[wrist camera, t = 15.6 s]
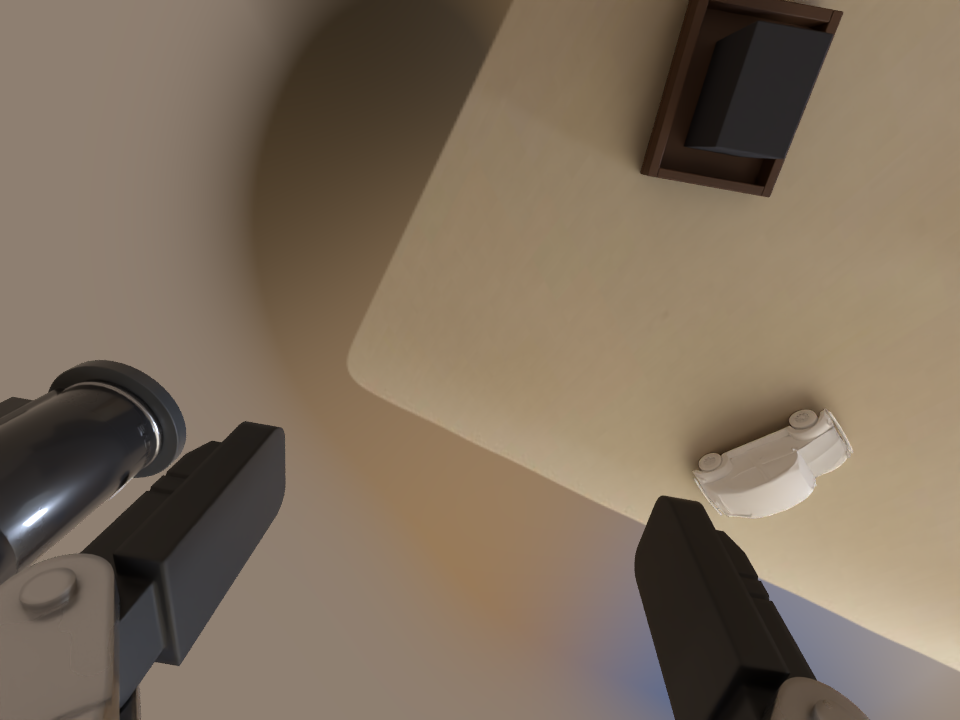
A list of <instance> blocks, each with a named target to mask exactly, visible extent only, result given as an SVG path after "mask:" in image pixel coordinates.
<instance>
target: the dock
mask: <svg viewBox="0 0 960 720" xmlns="http://www.w3.org/2000/svg"><path fill="white" fill-rule="evenodd" d="M842 15H843V12H842V11H837V10H832V9H826V8H821V7H815V6H810V5H804V4H799V3H793V2H788V1H782V0H689V4H688V7H687V11H686V14H685V18H684V21H683V25H682V28H681V32H680V35H679V39H678V42H677V46H676V49H675V53H674V56H673V60H672V63H671V67H670V70H669V74H668V78H667V81H666V85H665V88H664V92H663V95H662V99H661V102H660V106H659V109H658V113H657V116H656V120H655V123H654V127H653V130H652V134H651V137H650V141H649V144H648V148H647V151H646V155H645V158H644V162H643V165H642V169H641V172H640V174H643V175H647V176H653V177H658V178H664V179H669V180H675V181H681V182H686V183H692V184H697V185H703V186H708V187H714V188H719V189H725V190H731V191H736V192H742V193H747V194H753V195H758V196H764V197H770V195H771V193H772V190H773V188H774V185H775V183H776V180H777V178H778V175H779V173H780V170H781V168H782V165H783V163H784V160H785V158H786V156H785V158H784V159H769V158H749V157H738V156H732V155H727V154H721V153H716V152H710V151H705V150H699V149H694V148H688V147H684V144H685V141H686V138H687V134H688V131H689V128H690V125H691V122H692V119H693V115H694V112H695V109H696V106H697V103H698V99H699V96H700V93H701V90H702V87H703V83H704V80H705V77H706V74H707V71H708V67H709V64H710V61H711V58H712V55H713V51H714V48H715V45H716V42H717V41H719V40H721V39H723V38H725V37H727V36H729V35H730V34H732V33H734V32H736V31H738V30H740V29H742V28H744V27H746V26H748V25H750V24H752V23H754V22H756V21H758V20H761V21H766V22H772V23H777V24H783V25H788V26H794V27H799V28H805V29H810V30H816V31H821V32H826V33H832V34H833V37H834V35H835V32H836V30H837V27H838V25H839V22H840V20H841V17H842ZM832 40H833V38H832ZM832 40H831V42H832ZM830 45H831V43H830ZM830 45H829V47H830ZM828 50H829V48H828ZM828 50H827V52H828ZM826 55H827V53H826ZM826 55H825V58H826ZM825 58H824V60H825ZM824 60H823V63H824ZM823 63H822V65H823ZM822 65H821V68H822ZM821 68H820V70H821ZM820 70H819V73H820ZM819 73H818V75H819ZM818 75H817V78H818ZM817 78H816V80H817ZM816 80H815V83H816ZM815 83H814V85H815ZM814 85H813V88H814ZM813 88H812V90H813ZM812 90H811V93H812ZM811 93H810V95H811ZM810 95H809V98H810ZM809 98H808V100H809ZM808 100H807V103H808ZM807 103H806V105H807ZM806 105H805V108H806ZM805 108H804V110H805ZM803 113H804V111H803ZM803 113H802V115H803ZM801 118H802V116H801ZM801 118H800V120H801ZM799 123H800V121H799ZM799 123H798V125H799ZM797 128H798V126H797ZM797 128H796V130H797ZM795 133H796V131H795ZM795 133H794V135H795ZM793 138H794V136H793ZM793 138H792V140H793ZM791 143H792V141H791ZM791 143H790V145H791ZM789 148H790V146H789ZM789 148H788V150H789ZM787 153H788V151H787ZM787 153H786V155H787Z"/></svg>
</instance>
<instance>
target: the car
mask: <svg viewBox="0 0 960 720" xmlns="http://www.w3.org/2000/svg"><path fill="white" fill-rule="evenodd" d="M826 412H827V413H828V414H827V413H826ZM828 415H829V416H830V417H829V416H828ZM831 419H832V420H833V422H834V423H835V425H836V426H837V428H838V430H839V432H840V433H841V435H842V437H843V439H844V441H845V443H844V441H843V440H842V438H841V437H840V436H839V434H838V432H837V431H836V429H835V428H834V424H833V422H832V420H831ZM789 423H790V424H791V426H792V427H793V428H792V427H791V426H788V427H786V428H783V429H781V430H779V431H776V432H774V433H771V434H769V435H766V436H764V437H762V438H759V439H757V440H754V441H752V442H749V443H747V444H745V445H742V446H740V447H737V448H735V449H732V450H730V451H728V452H725V453H724V454H722V455H721V456H720V455H719V454H717V453H709V454H706V455H705V456H703V457H702V458H701V459H700V461H699V467H700V469H701V470H702V471H698V470H694V471H692V472H693V473H694V475H695V476H696V477H697V479H698V480H699V482H700V485H699V483H698V482H697V480H696V478H694V480H695V482H696V484H697V486H698V487H699V489H700V490H701V492H702V493H703V495H704V496H705V497H706V499H707V500H708V501H709V503H710V504H711V505H712V506H713V508H714V509H715V510H716V511H717V512H718V513H719V514H720V515H722V513H723V514H725V515H726V516H728V517H744V518H762V517H766V516H770V515H774V514H776V513H779V512H781V511H784V510H787V509H789V508H791V507H793V506H795V505H796V504H798V503H800V502H802V501H804V500H805V499H806V498H807V497H808V496H809V495H810V494H811V493H812V492H813V490H814V487H815V486H817V485H816V484H815V483H816V480H815V479H816V477H818V476H820V475H822V474H823V473H829V472H831V471H833V470H835V469H837V468H838V467H839V466H841V465H842V464H843V463H844V462H845V461H846V459H847V457H848V458H850V456H851V453H853V449H852V447H851V445H850V443H849V440H848V438H847V437H846V435H845V433H844V431H843V430H842V428H841V426H840V425H839V423H838V422H837V420H836V419H835V417H834V416H833V415H832V414H831V412H830V411H828V410H827V409H826V408H825V410H824V409H823V411H821V412H820V417H819V419H818V417H817V415H816V414H815V412H813V411H812V410H800V411H797V412H795V413H794V414H792V415H791V417H790V419H789ZM849 450H850V451H849ZM850 452H851V453H850ZM731 458H732V459H731ZM700 486H701V487H702V488H701V487H700ZM702 489H703V490H702ZM710 500H711V501H712V502H713V503H714V504H715V505H716V506H717V507H719V508H716V507H715V506H714V504H713V503H712V502H711V501H710ZM718 509H720V510H721V511H722V513H721V512H720V511H719V510H718Z"/></svg>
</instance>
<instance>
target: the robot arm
mask: <svg viewBox="0 0 960 720" xmlns="http://www.w3.org/2000/svg"><path fill="white" fill-rule="evenodd" d="M163 440H164V438H163V431H162V427H161V424H160V422H159V420H158V418H157V416H156V415H155V413H154V412H153V410H152V409H151V408H150V407H149V406H148V404H147V403H146V402H145V401H143V400H142V399H141V398H140V397H139V396H137V395H136V394H135V393H133V392H132V391H130V390H128V389H127V388H125V387H123V386H120V385H118V384H115V383H112V382H109V381H104V380H84V381H80V382H78V383H75V384H73V385H72V386H70V387H68V388H66V389H65V388H56V389H54V390H52V391H50V392H49V393H47V394H45V395H43V396H41V397H39V398H38V399H35V400H28V399H22V398H16V397H11V398H9V399H7V400H5V401H3V402H1V403H0V720H141V706H140V688H139V683H140V682H141V680H142V679H143V677H144V676H145V674H146V673H147V672H148V670H149V669H150V668H151V666H152V665H153V663H154V662H159V663H165V664H170V665H177V666H179V665H180V664H181V663H182V661H183V660H184V658H185V657H186V655H187V653H188V652H189V650H190V649H191V647H192V645H193V644H194V643H195V641H196V639H197V638H198V636H199V635H200V633H201V632H202V630H203V629H204V627H205V625H206V624H207V622H208V621H209V619H210V618H211V616H212V615H213V613H214V611H215V610H216V608H217V607H218V605H219V603H220V602H221V601H222V599H223V598H224V596H225V594H226V593H227V591H228V590H229V588H230V587H231V585H232V584H233V582H234V580H235V579H236V577H237V576H238V574H239V573H240V571H241V570H242V568H243V566H244V565H245V563H246V562H247V560H248V559H249V557H250V556H251V554H252V552H253V551H254V549H255V548H256V546H257V545H258V543H259V542H260V540H261V539H262V537H263V535H264V534H265V532H266V531H267V529H268V528H269V526H270V525H271V523H272V521H273V520H274V518H275V517H276V515H277V513H278V511H279V509H280V507H281V504H282V501H283V497H284V492H285V434H284V431H283V429H282V428H280V427H275V426H270V425H264V424H258V423H252V422H246V421H245V422H243V423H241V424H240V425H239V426H238V427H237V428H236V429H235V430H234V431H233V432H232V433H231V434H230V435H229V436H228V437H227V438H226V439H225V440H224V441H223V442H216V441H211V442H208V443H206V444H204V445H203V446H201V447H199V448H197V449H195V450H193V451H191V452H189V453H187V454H185V455H184V456H183V457H182V458H181V459H180V460H179V461H178V462H177V463H176V464H175V465H174V466H173V467H172V468H170V469H169V470H168V471H167V474H166V476H164V475H163V476H162V477H161V478H160V479H159V480H158V481H156V482H155V483H154V484H153V485H152V486H151V489H150V491H146V492H145V493H144V494H143V495H142V496H140V497H139V498H138V499H137V500H136V501H135V502H134V503H133V504H132V505H131V506H130V507H129V508H128V509H127V510H126V511H124V512H123V513H122V514H121V515H120V516H119V517H118V518H117V519H116V520H115V521H114V522H113V523H112V524H111V525H110V526H109V527H107V528H106V529H105V530H104V531H103V532H102V533H101V534H100V535H99V536H98V537H97V538H96V539H95V540H94V541H92V542H91V543H90V545H88V546H87V547H86V548H85V549H84V550H83V551H82V552H81V553H79V554H69V555H62V556H58V557H54V558H51V559H47V560H44V561H42V562H39V563H37V564H34V565H32V564H33V563H34V562H35V561H37V560H38V559H39V558H40V557H41V556H42V555H43V554H45V553H46V552H47V551H48V550H49V549H50V548H52V547H53V546H54V545H55V544H56V543H57V542H58V541H60V540H61V539H62V538H63V537H64V536H65V535H67V534H68V533H69V532H70V531H71V530H72V529H74V528H75V527H76V526H77V525H78V524H79V523H80V522H82V521H83V520H84V519H85V518H86V517H87V516H88V515H90V514H91V513H92V512H93V511H94V510H95V509H96V508H98V507H99V506H100V505H101V504H102V503H104V502H105V501H106V500H107V499H108V498H109V497H110V496H111V495H113V494H114V493H115V492H116V491H117V490H119V489H120V488H121V487H122V486H123V485H124V484H125V483H126V484H127V482H129V481H130V480H131V479H132V478H133V477H134V476H135V475H136V474H137V473H138V472H139V471H140V470H141V469H143V468H145V467H146V466H148V465H149V464H150V463H151V462H152V461H154V460H155V459H156V458H157V457H158V455H159V454H160V452H161V450H162V447H163ZM124 486H125V485H124ZM124 486H123V487H124ZM123 487H122V488H123ZM122 488H121V489H122ZM121 489H120V490H121ZM120 490H119V491H120ZM119 491H118V492H119ZM118 492H117V493H118ZM117 493H116V494H117ZM116 494H115V495H116ZM31 565H32V566H31ZM635 577H636V582H637V585H638V589H639V592H640V596H641V599H642V603H643V606H644V610H645V614H646V617H647V621H648V624H649V628H650V631H651V635H652V639H653V642H654V646H655V649H656V653H657V656H658V660H659V664H660V667H661V671H662V674H663V678H664V681H665V685H666V688H667V692H668V696H669V699H670V703H671V706H672V710H673V714H674V717H675V720H870V719H869V718H868V717H867V716H866V715H865V714H864V713H863V712H862V711H861V710H860V709H859V708H858V707H857V706H856V705H855V704H854V703H852V702H851V701H850V700H849V699H848V698H846V697H845V696H843V695H842V694H841V693H839V692H838V691H836V690H834V689H833V688H831V687H830V686H828V685H825V684H823V683H821V682H819V681H817V680H816V678H815V676H814V674H813V672H812V671H811V669H810V667H809V665H808V664H807V662H806V660H805V658H804V656H803V655H802V653H801V651H800V649H799V648H798V646H797V644H796V642H795V641H794V639H793V637H792V635H791V634H790V632H789V630H788V628H787V626H786V625H785V623H784V621H783V619H782V618H781V616H780V614H779V612H778V611H777V609H776V607H775V605H774V603H773V602H772V601H769V595H768V593H767V591H766V589H765V588H764V586H763V584H762V582H761V581H758V575H757V573H756V572H755V570H754V568H753V566H752V565H751V563H750V561H749V559H748V558H747V556H746V554H745V553H744V552H743V550H742V549H741V548H740V547H739V546H738V545H737V544H736V543H735V542H734V541H733V540H732V539H731V538H730V537H729V536H728V535H727V534H726V533H725V532H724V531H719V530H715V528H714V526H713V524H712V522H711V520H710V518H709V516H708V514H707V512H706V510H705V509H704V507H703V505H702V504H701V503H700V502H697V501H692V500H686V499H680V498H675V497H669V496H660V497H659V498H658V499H657V501H656V503H655V505H654V508H653V510H652V513H651V515H650V517H649V520H648V522H647V525H646V528H645V530H644V532H643V535H642V537H641V540H640V542H639V545H638V547H637V551H636V555H635Z"/></svg>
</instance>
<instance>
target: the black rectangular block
mask: <svg viewBox="0 0 960 720" xmlns="http://www.w3.org/2000/svg"><path fill="white" fill-rule="evenodd" d="M832 38H833V34H832V33H826V32H821V31H816V30H810V29H805V28H799V27H794V26H788V25H783V24H777V23H772V22H766V21H761V20H758V21H756V22H754V23H752V24H750V25H748V26H746V27H744V28H742V29H740V30H738V31H736V32H734V33H732V34H730V35H729V36H727V37H725V38H723V39H721V40H719V41H717V42H716V45H715V48H714V51H713V55H712V58H711V61H710V64H709V67H708V71H707V74H706V77H705V80H704V83H703V87H702V90H701V93H700V96H699V99H698V103H697V106H696V109H695V112H694V115H693V119H692V122H691V125H690V128H689V131H688V134H687V138H686V141H685V144H684V147H688V148H694V149H699V150H705V151H710V152H716V153H721V154H727V155H732V156H738V157H749V158H769V159H784V158H785V156H786V153H787V151H788V148H789V146H790V143H791V141H792V138H793V136H794V133H795V131H796V128H797V126H798V123H799V121H800V118H801V116H802V113H803V111H804V108H805V105H806V103H807V100H808V98H809V95H810V93H811V90H812V88H813V85H814V83H815V80H816V78H817V75H818V73H819V70H820V68H821V65H822V63H823V60H824V58H825V55H826V53H827V50H828V48H829V45H830V43H831V40H832Z"/></svg>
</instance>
